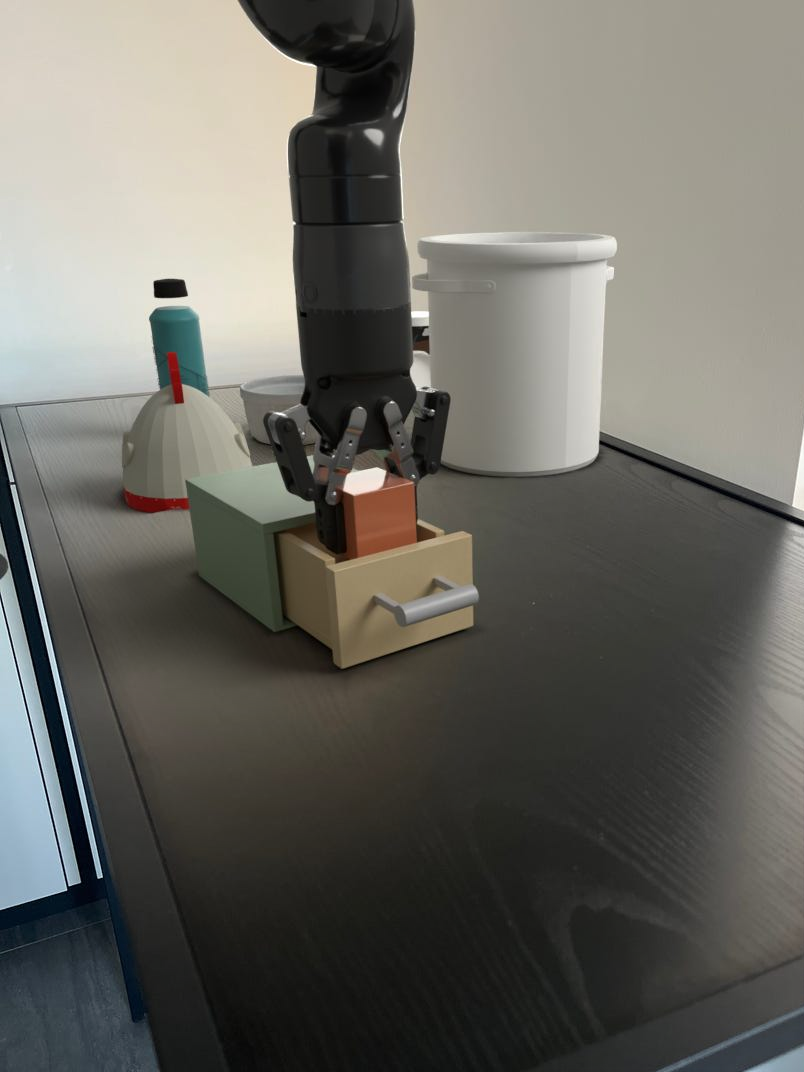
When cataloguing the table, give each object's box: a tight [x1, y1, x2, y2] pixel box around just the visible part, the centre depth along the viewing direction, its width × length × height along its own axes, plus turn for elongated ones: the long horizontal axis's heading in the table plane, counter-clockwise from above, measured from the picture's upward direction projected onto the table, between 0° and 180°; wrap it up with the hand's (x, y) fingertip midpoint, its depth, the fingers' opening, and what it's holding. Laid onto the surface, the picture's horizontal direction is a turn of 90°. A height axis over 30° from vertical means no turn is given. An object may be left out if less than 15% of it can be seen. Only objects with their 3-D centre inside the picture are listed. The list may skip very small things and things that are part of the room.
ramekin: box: [239, 374, 318, 446], centre depth 129 cm, size 13×13×7 cm
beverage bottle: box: [148, 278, 211, 398], centre depth 126 cm, size 6×7×20 cm
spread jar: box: [410, 311, 431, 389], centre depth 152 cm, size 12×11×12 cm
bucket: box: [411, 231, 618, 478], centre depth 114 cm, size 26×22×25 cm
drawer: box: [273, 518, 480, 670], centre depth 72 cm, size 18×11×7 cm, turn 37°
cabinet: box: [185, 454, 360, 633], centre depth 81 cm, size 15×13×9 cm
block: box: [340, 466, 417, 560], centre depth 70 cm, size 5×5×5 cm
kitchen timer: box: [121, 352, 254, 514], centre depth 104 cm, size 14×14×15 cm
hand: (369, 541), depth 71 cm, fingers closed on block, 5 cm apart
